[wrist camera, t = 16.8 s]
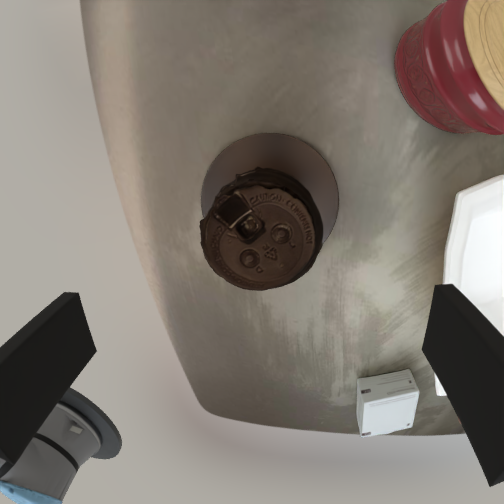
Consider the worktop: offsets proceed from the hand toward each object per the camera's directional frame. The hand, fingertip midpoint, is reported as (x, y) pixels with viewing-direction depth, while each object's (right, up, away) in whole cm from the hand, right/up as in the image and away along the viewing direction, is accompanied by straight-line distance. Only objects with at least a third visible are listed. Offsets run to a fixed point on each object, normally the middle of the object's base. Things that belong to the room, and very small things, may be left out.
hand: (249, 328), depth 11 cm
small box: (+19, -17, +30) cm, 39 cm away
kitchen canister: (+21, +22, +16) cm, 34 cm away
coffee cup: (+2, +8, +22) cm, 23 cm away
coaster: (+2, +8, +22) cm, 24 cm away
